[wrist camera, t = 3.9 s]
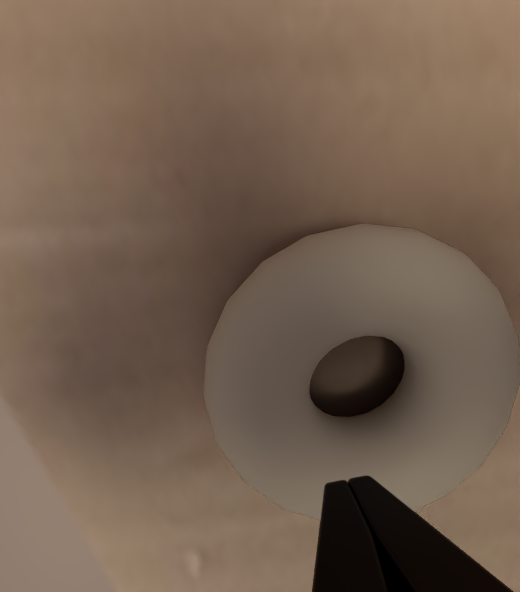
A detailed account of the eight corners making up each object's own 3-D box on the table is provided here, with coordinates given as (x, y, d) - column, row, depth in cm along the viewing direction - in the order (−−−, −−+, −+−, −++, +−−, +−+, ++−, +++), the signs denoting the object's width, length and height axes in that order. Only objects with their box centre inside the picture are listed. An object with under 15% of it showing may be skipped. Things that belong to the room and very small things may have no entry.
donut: (134, 318, 10) (516, 166, 9) (156, 285, 13) (440, 172, 13) (275, 595, 12) (571, 480, 12) (263, 509, 16) (497, 418, 16)
